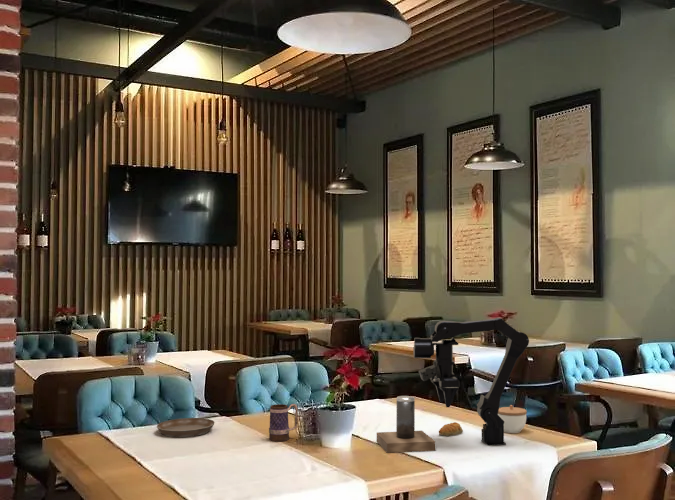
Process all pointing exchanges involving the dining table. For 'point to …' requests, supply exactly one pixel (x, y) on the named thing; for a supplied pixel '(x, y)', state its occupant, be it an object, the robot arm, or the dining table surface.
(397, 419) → the canister
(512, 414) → the lidded jar
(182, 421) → the plant saucer
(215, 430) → the dining table surface
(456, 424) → the pastry
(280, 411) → the mug
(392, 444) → the block
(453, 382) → the robot arm
